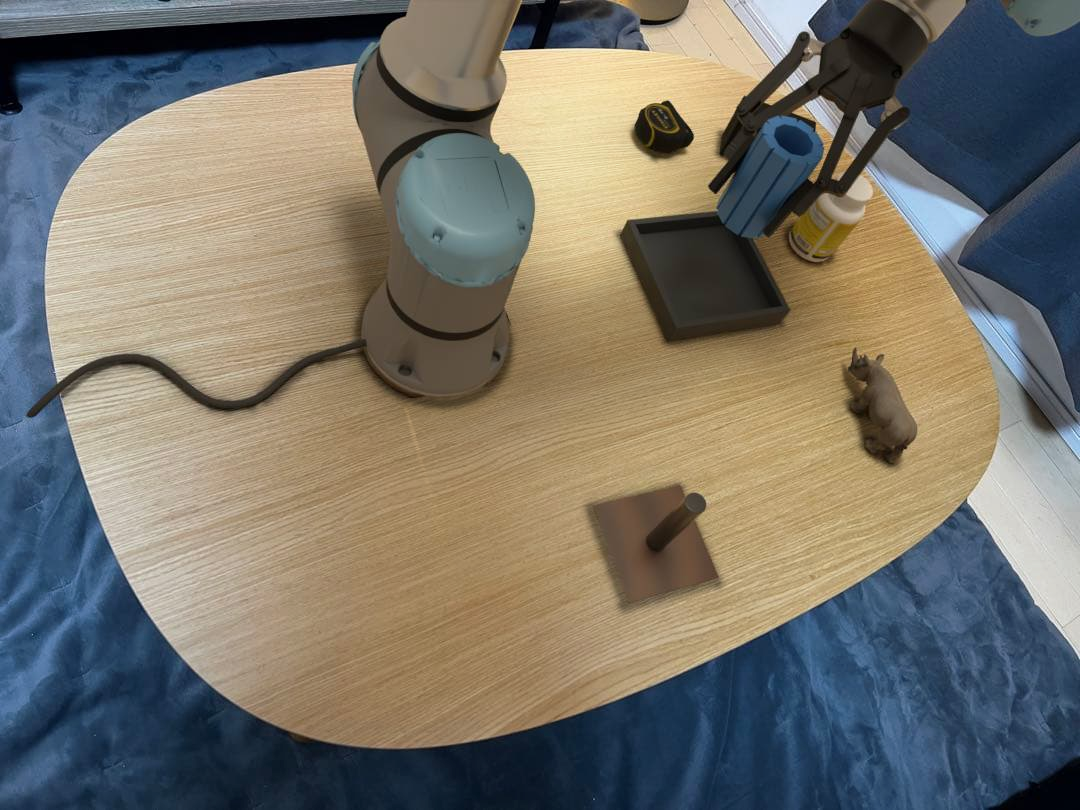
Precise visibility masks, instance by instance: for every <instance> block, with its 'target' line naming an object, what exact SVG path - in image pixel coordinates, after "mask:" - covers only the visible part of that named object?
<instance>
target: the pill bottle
mask: <svg viewBox="0 0 1080 810" xmlns="http://www.w3.org/2000/svg"><path fill="white" fill-rule="evenodd" d="M844 173H845V171H842V172H841V173H839V174H838V175H837V176H836V177H835V180H838V181H839V180H840V178H841V177H842V176H843V174H844ZM873 195H874V189H873V186H872V184H871V182H870V181H869V180H868V179H867V178H866V177H865V176H863V175H862V174H860V175H859V177H858V178H857V180H856V181H855V182H854V184H853V185H852V186H851V188H850V189H849V191H848V192H847V193H846V195H845V196H843V197H837V196H835V195H832V194H829V193H825V194H822V195H821V196H820V197H819V198H818V199H817V200H816V201H815V203H814V204H813V205H812V206H811V207H810V208H809V209H808V211H807V212H806V213H805V214H804V215H802V216H801V217H798V219H796V220H797V221H796V222H795V223H794V225H792V227H791V229H790V231H789V234H788V241H789V244H790V247H791V248H792V250H793V251H794V252H795V253H796V254H797V255H798V256H799V257H801V258H802V259H804V260H807V261H810V262H812V263H813V262H814V263H821V262H825V261H827V260H828V259H829V258H830V257H831V256H832V255H833V254H834V253H835V252H836V251H837V249H838V248H840V246H841V245H842V243H843V242H844V241H845V240H846V238H848V236H849V235H850V234H851V233H852V232H853V230H854V229H855V228H856V227H857V226H858V224H859V223H860V222H861V220H862V219H863V217H864V216H865V214H866V213H865V212H866V205H867V204H868V203H869V201H870V200H871V199H872V198H873Z"/></svg>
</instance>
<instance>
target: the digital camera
mask: <svg viewBox="0 0 1080 810" xmlns="http://www.w3.org/2000/svg"><path fill="white" fill-rule="evenodd" d="M746 96H747V95H743V96H742V98H741V99H740V102H741V101H742V100H743V99H744V98H745V97H746ZM771 105H772V104H769V103H767V102H764V103H763V104H762V105H761V106H760V107H759V108H758V109H757V110H756V111H755V112H754V113H753V114H752V115H753V117H754V116H756V115H757V114H759V113H760V112H762V111H763V110H765V109H766V108H768V107H770V106H771ZM787 117H792V118H796V119H797V122H798V121H799V120H801V121H803V122H804V123H806V124H807V125H809V126H810V127H812V128H813V129H814V130H813V132H817V130H816V129H817V121H815V120H812V119H810V118H807V117H804V116H802V115H799V114H796V113H794V112H792V113H790V114H789V115H787ZM741 129H742V123H741V122H740V120H739V119H738V116H737V112H736V110H735V111H734V112H733V114H732V116H731V118H730V120H729V121H728V124H727V125H726V127H725V128H724V131H723V132H722V135H721V142H720V148H719V155H721V156H722V157H724V155H723V154H724V151H725V149H726V148H727V146H728V145H729V144H730V143H731V142H732V140H733V139H734V138H735V137H736V135H737V134H738V133H739V132H740V131H741ZM757 135H758V134H757ZM757 135H756V136H757Z"/></svg>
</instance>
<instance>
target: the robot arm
mask: <svg viewBox="0 0 1080 810" xmlns="http://www.w3.org/2000/svg"><path fill="white" fill-rule="evenodd" d="M970 1H971V0H867V1H866V2H865V3H864V4H863V5H862V7H861V8H860V9H859V10H858V11H857V12H856V14H854V16H853V17H852V18H851V20H850V21H848V23H847V24H846V25H845V27H844V28H843V29H842V30H841V32H840V33H839V34H838V35H836V36H835V37H834V38H832V39H829V40H828V41H826V42H823V41H820V40H818V39H815V38H813V37H811V35H810V33H809V32H808V31H805V30H804V31H801V32H799V33H798V35H797V36H796V37H795V38H796V39H795V41H794V43H793V44H792V47H791V49H790V50H789V52H788V53H787V54H786V55H785V56H784V57H783V58H782V59H781V60H780V61H779V62H778V63H777V64H776V65H775V66H774V67H773V68H772V69H771V70H770V71H769V72H768V73H767V74H766V75H765V76H764V77H763V79H761V81H759V83H758V84H757V85H755V87H753V88H752V90H751V91H750V92H749V93H748V94H747V95H745V96H746V97H745V98H744V99H743V100H742V99H741V100H742V101H741V100H740V102H739V103H738V104H737V106H736V107H735V111H736V112H737V116H738V119H739V120H740V122H741V123H742V129H741V131H740V132H739V133H738V134H737V135H736V137H735V138H734V139H733V140H732V142H731V143H730V144H729V145H728V146H727V148H726V149H725V151H724V154H723V155H724V156H723V155H722V156H723V157H724V158H725V160H726V161H727V162H726V163H725V164H724V166H723V167H722V168H721V169H720V170H719V172H717V174H716V175H715V176H714V178H713V179H712V180H711V181H710V182H709V183H708V185H707V187H708V189H709V191H710V192H712V193H713V194H714V195H717V194H718V193H719V192H720V190H721V189H722V188H723V187H724V185H726V183H728V182H729V180H730V179H731V178H732V176H733V174H734V173H735V171H736V169H737V168H738V166H739V164H740V163H741V161H742V160H743V158H744V156H745V155H746V153H747V151H748V150H749V148H750V146H751V145H752V143H753V141H754V140H755V138H756V135H757V134H758V133H759V131H760V130H761V128H762V126H763V125H764V123H765V122H766V121H767V120H768V119H771V118H773V117H776V116H779V117H781V116H787V115H789V114H790V113H794V112H795V111H797V110H798V109H800V108H802V107H803V106H805V105H806V104H808V103H810V102H812V101H814V100H816V99H818V98H820V97H822V98H823V99H825V101H829V102H831V103H834V105H835V106H836V108H837V109H838V111H841V113H843V114H842V117H841V120H840V122H839V125H838V127H837V129H836V132H835V135H834V137H833V139H832V142H831V144H830V147H829V150H828V152H827V153H826V156H825V158H824V160H823V163H822V165H821V168H820V170H819V173H818V176H817V177H816V180H815V181H814V182H812V181H811V180H810V179H809V178H808V179H807V180H806V181H805V182H804V183H803V184H802V185H801V187H800V188H799V189H798V190H797V191H796V192H795V194H794V195H793V196H792V197H791V198H790V199H789V201H788V202H787V203H786V204H785V205H784V206H783V208H782V209H781V210H780V211H779V212H778V213H777V214H776V216H775V217H774V218H773V219H772V220H771V221H770V223H769V224H768V225H767V226H766V227H765V228H764V230H763V233H764V234H765V235H764V236H766V237H767V238H768V239H770V238H771V237H772V236H773V235H774V234H775V232H776V231H777V230H778V229H779V228H780V227H781V226H782V225H783V224H784V222H785V221H786V220H787V219H788V218H789V216H790V215H791V214H792V213H793V214H794V215H796V216H797V217H798V218H800V217H801V216H802V215H804V214H805V213H806V212H807V211H808V209H809V208H810V207H811V206H812V205H813V204H814V203H815V201H816V200H817V199H818V198H819V197H820V196H821V195H822V194H825V193H829V194H832V195H835V196H837V197H843V196H845V195H846V193H847V192H848V191H849V189H850V188H851V186H852V185H853V184H854V182H855V181H856V180H857V178H858V177H859V175H862V173H863V172H864V170H865V169H866V168H867V166H868V165H869V163H870V162H871V161H872V160H873V158H874V157H875V155H876V154H877V152H878V151H879V149H880V148H881V147H882V146H883V144H884V143H885V141H886V140H887V139H888V137H889V136H890V135H891V134H892V133H894V132H896V131H897V130H898V129H900V128H901V127H903V126H904V125H905V124H906V123H907V122H908V119H909V117H910V115H911V109H910V108H909V107H907V106H903V105H902V104H901V103H900V101H899V99H898V98H897V97H896V96H895V94H896V91H897V87H898V85H899V84H900V82H901V81H902V80H903V79H904V78H905V77H906V75H907V74H908V73H909V72H911V70H912V69H913V67H914V66H915V65H916V64H917V63H918V62H919V60H921V58H922V57H924V55H925V53H927V51H928V48H929V43H933V42H935V41H937V40H938V38H939V37H940V36H941V35H942V34H943V33H944V32H945V31H946V29H947V28H948V27H949V26H950V25H951V23H952V22H953V21H954V20H955V18H956V17H957V16H958V15H959V14H960V13H961V12H962V10H963V9H964V8H965V7H966V6H967V4H968V3H969V2H970ZM998 1H999V3H1000V4H1001V5H1002V6H1003V8H1004V9H1005V14H1006V15H1007V16H1008V18H1010V19H1013V20H1014V21H1015V22H1016V24H1017V25H1018V26H1019V27H1020V28H1021V29H1022V30H1023V31H1024V33H1026V34H1028V35H1029V36H1033V37H1047V36H1052V35H1056V34H1059V33H1061V32H1063V31H1066V30H1068V29H1070V28H1071V27H1073V26H1075V25H1077V24H1078V23H1080V0H998ZM522 2H523V0H410V1H409V4H408V8H407V12H406V15H405V16H403V17H400V18H397V19H395V20H393V21H391V23H389V24H388V25H387V26H386V27H385V29H384V30H383V32H382V34H381V35H380V39H379V40H378V41H377V42H375V41H372V42H370V43H369V44H368V45H367V47H366V48H365V49H364V50H363V52H362V54H361V55H360V57H359V58H358V60H357V62H356V65H355V68H354V71H353V75H352V83H351V93H352V109H353V113H354V114H353V115H354V119H355V121H356V125H357V127H358V129H359V131H360V133H361V136H362V140H363V143H364V147H365V150H366V154H367V158H368V162H369V165H370V168H371V172H372V175H373V179H374V182H375V186H376V189H377V193H378V196H379V199H380V204H381V207H382V211H383V215H384V219H385V222H386V226H387V229H388V234H389V240H390V250H389V251H390V252H389V259H388V267H387V274H386V277H385V278H384V280H383V282H381V284H380V285H379V286H378V288H376V289H375V290H374V292H373V293H372V295H371V296H370V298H369V300H368V302H367V304H366V305H365V309H364V310H363V311H364V312H363V315H362V321H361V329H360V331H361V332H360V339H359V340H356V341H351V342H350V343H349V342H348V343H345V344H342V345H339V346H337V347H332V348H327V349H323V350H320V351H318V352H315V353H312V354H310V355H308V356H306V357H304V358H302V359H300V360H299V361H296V363H294V364H293V365H291V366H290V367H289V368H288V369H286V371H284V372H283V373H282V374H281V375H280V376H278V378H276V379H275V380H274V381H273V382H271V384H269V385H268V386H267V387H265V388H264V389H263V390H262V391H260V392H258V393H256V394H255V395H252V396H250V397H246V398H243V399H236V400H222V399H218V398H215V397H211V396H210V395H207V394H205V393H203V392H202V391H200V390H199V389H197V388H196V387H195V386H193V385H192V384H191V383H189V382H188V381H187V380H186V379H185V378H183V377H182V376H181V375H180V374H179V373H178V372H177V371H175V370H174V369H173V368H171V367H170V366H168V365H167V364H166V363H164V362H162V361H161V360H158V359H156V358H154V357H151V356H149V355H144V354H141V353H140V354H139V353H120V354H113V355H109V356H104V357H100V358H97V359H95V360H93V361H90V362H88V363H86V364H84V365H81V366H80V367H78V368H76V369H75V370H74V371H72V372H71V373H69V374H68V375H66V376H65V377H64V378H63V379H62V380H59V382H58V383H56V384H55V385H54V386H53V387H52V388H51V389H50V390H49V391H47V392H46V393H45V394H44V395H43V396H42V397H41V398H40V399H39V400H38V401H37V402H35V404H34V405H32V406H31V408H30V409H29V410H28V411H27V412H26V414H25V416H26V417H27V419H32V418H35V417H36V416H38V415H39V413H40V412H41V411H42V410H44V409H45V408H46V407H47V406H48V405H49V404H50V403H51V402H52V401H53V400H54V399H55V398H56V397H57V396H58V395H60V394H61V392H63V391H64V390H65V389H66V388H67V387H69V386H70V385H71V384H72V383H74V382H75V381H77V380H78V379H80V378H81V377H83V376H84V375H86V374H88V373H90V372H92V371H94V370H95V369H98V368H101V367H104V366H107V365H111V364H115V363H123V362H137V363H142V364H146V365H149V366H152V367H154V368H155V369H157V370H159V371H160V372H162V373H163V374H165V375H166V376H167V377H169V378H170V379H171V380H172V381H174V382H175V384H177V385H178V386H179V387H181V389H183V390H184V391H185V392H186V393H188V394H189V395H191V397H194V398H195V399H197V400H198V401H200V402H203V403H204V404H206V405H209V406H213V407H216V408H220V409H239V408H245V407H248V406H252V405H255V404H257V403H259V402H261V401H263V400H265V399H266V398H268V397H269V396H271V395H272V394H273V393H274V392H276V390H278V389H279V388H280V387H282V386H283V384H285V383H286V382H287V381H288V380H289V379H290V378H291V377H292V376H294V375H295V374H296V373H298V372H299V371H301V370H302V369H303V368H305V367H306V366H308V365H311V364H312V363H314V362H317V361H319V360H322V359H326V358H329V357H333V356H337V355H341V354H344V353H347V352H350V351H354V350H358V349H360V348H362V350H363V353H364V356H365V357H366V359H367V360H366V361H367V362H368V363H369V366H370V367H371V368H372V369H373V371H374V372H375V373H376V374H377V375H378V376H379V378H381V379H382V380H383V381H384V383H386V384H387V385H389V386H390V387H392V388H393V389H396V391H398V392H400V393H402V394H404V395H407V396H410V397H412V398H416V399H419V398H423V397H425V398H426V397H427V398H432V399H450V398H456V397H462V396H465V395H469V394H471V393H474V392H476V391H478V390H480V389H481V388H484V387H487V386H489V385H490V384H491V383H492V382H493V381H494V379H496V377H497V376H498V375H499V373H500V371H501V369H502V367H503V364H504V362H505V360H506V357H507V354H508V351H509V345H510V344H509V343H510V329H509V327H510V328H512V324H511V320H510V318H509V315H508V313H507V311H506V305H507V302H508V299H509V296H510V294H511V292H512V291H511V290H512V288H513V285H514V282H515V279H516V277H517V274H518V271H519V269H520V265H521V263H522V260H523V258H524V256H525V255H526V253H527V252H528V250H529V247H530V242H531V239H532V234H533V230H534V221H535V213H536V198H535V193H534V189H533V187H532V186H533V185H532V183H531V180H530V177H529V176H528V174H527V172H526V170H525V169H524V168H523V166H522V164H521V163H520V162H519V161H518V159H516V157H514V156H513V154H511V153H509V152H507V153H503V152H501V150H500V149H501V148H500V145H499V144H498V143H496V142H495V141H494V139H493V136H492V131H491V130H492V129H491V128H492V122H493V120H494V118H495V115H496V112H497V110H498V107H499V105H500V103H501V100H502V98H503V96H504V93H505V92H506V87H507V83H508V76H507V75H508V74H507V72H506V71H507V70H506V68H505V66H504V63H503V60H501V58H500V57H501V55H502V52H503V50H504V48H505V45H506V42H507V40H508V37H509V35H510V32H511V30H512V27H513V24H514V22H515V20H516V17H517V15H518V13H519V10H520V7H521V5H522ZM816 56H819V64H818V65H819V66H818V73H817V74H815V75H814V76H812V77H811V78H809V79H808V80H807V81H806V82H805V83H804V84H802V85H800V86H799V87H797V88H796V89H794V90H793V91H791V92H790V93H788V94H787V95H785V96H783V97H781V98H780V99H778V100H777V101H775V102H774V103H773V104H770V105H771V106H770V107H768V108H766V109H765V110H763V111H762V112H760V113H759V114H757V115H756V116H754V117H753V115H752V114H753V113H754V112H755V111H756V110H757V109H758V108H759V107H760V106H761V105H762V104H763V103H766V101H767V100H768V99H769V98H770V97H771V96H772V95H773V94H774V93H775V92H776V91H778V89H779V88H780V87H781V86H782V85H783V84H784V83H785V82H786V81H787V80H788V79H789V78H790V77H791V76H792V75H793V74H794V73H795V72H796V70H797V69H798V68H799V67H800V65H801V64H802V62H803V63H807V62H810V61H811V60H812V59H813V58H814V57H816ZM883 105H884V106H885V109H884V110H883V111H882V113H881V116H880V121H881V123H879V124H878V126H877V127H876V129H875V130H874V131H873V132H872V134H871V135H870V137H869V138H868V140H867V141H866V142H865V144H863V146H862V148H861V149H860V150H859V152H858V154H857V155H856V157H854V159H853V160H852V162H851V163H850V164H849V165H848V167H847V168H846V170H845V171H844V172H845V173H844V174H843V176H842V177H841V178H840V180H839V181H838V180H835V179H836V178H835V179H834V178H833V177H834V174H835V171H836V169H837V166H838V164H839V161H840V159H841V157H842V155H843V152H844V150H845V148H846V145H847V142H848V140H849V138H850V136H851V133H852V130H853V128H854V126H855V124H856V122H857V119H858V117H859V114H860V112H863V111H866V110H870V109H873V108H876V107H879V106H883Z"/></svg>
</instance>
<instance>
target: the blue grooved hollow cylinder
mask: <svg viewBox="0 0 1080 810" xmlns="http://www.w3.org/2000/svg"><path fill="white" fill-rule="evenodd" d="M813 130H814V129H813V128H812V127H810V126H809V125H807V124H806V123H804V122H803V121H801V120H799V121H798V122H797V119H796V118H792V117H787V116H781V117H779V116H776V117H773V118H771V119H768V120H767V121H766V122H765V123H764V125H763V126H762V128H761V130H760V131H759V133H758V135H757V136H756V138H755V140H754V141H753V143H752V145H751V146H750V148H749V150H748V151H747V153H746V155H745V156H744V158H743V160H742V161H741V163H740V164H739V166H738V168H737V169H736V171H735V172H734V173H733V175H732V176H731V177H730V178H729V180H728V182H727V185H726V186H725V187H724V189H723V191H722V193H721V194H720V196H719V198H718V201H717V205H716V211H717V213H718V215H719V217H720V219H721V221H722V223H727V224H726V225H725V227H727V228H728V229H730V230H731V231H733V232H734V233H735V234H737V235H738V234H739V233H741V237H747V238H753V239H760V238H763V237H764V236H766V235H765V234H764V233H763V230H764V228H765V227H766V226H767V225H768V224H769V223H770V221H771V220H772V219H773V218H774V217H775V216H776V214H777V213H778V212H779V211H780V210H781V209H782V208H783V206H784V205H785V204H786V203H787V202H788V201H789V199H790V198H791V197H792V196H793V195H794V194H795V192H796V191H797V190H798V189H799V188H800V187H801V185H802V184H803V183H804V182H805V181H806V180H807V179H809V178H810V176H811V175H812V174H813V172H814V171H815V169H816V168H817V167H818V165H819V164H820V162H821V161H822V159H823V158H824V151H825V146H824V142H823V140H822V139H821V137H820V135H819V133H818V131H816V132H813Z"/></svg>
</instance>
